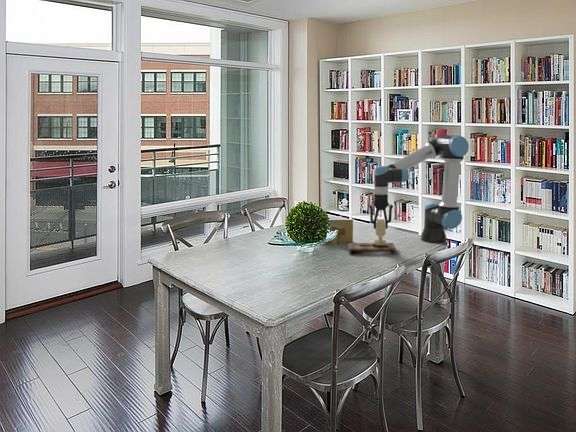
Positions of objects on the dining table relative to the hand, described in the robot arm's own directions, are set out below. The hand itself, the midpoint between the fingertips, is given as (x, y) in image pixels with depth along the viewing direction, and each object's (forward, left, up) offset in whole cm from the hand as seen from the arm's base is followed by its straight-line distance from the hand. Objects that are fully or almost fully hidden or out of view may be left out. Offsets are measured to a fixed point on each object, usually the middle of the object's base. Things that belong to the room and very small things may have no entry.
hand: (380, 234), depth 286 cm
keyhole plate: (+5, 0, -10) cm, 11 cm away
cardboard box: (+26, -20, -11) cm, 34 cm away
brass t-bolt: (0, 0, -6) cm, 6 cm away
